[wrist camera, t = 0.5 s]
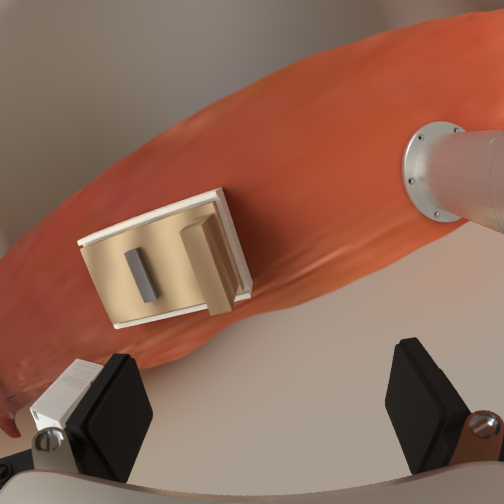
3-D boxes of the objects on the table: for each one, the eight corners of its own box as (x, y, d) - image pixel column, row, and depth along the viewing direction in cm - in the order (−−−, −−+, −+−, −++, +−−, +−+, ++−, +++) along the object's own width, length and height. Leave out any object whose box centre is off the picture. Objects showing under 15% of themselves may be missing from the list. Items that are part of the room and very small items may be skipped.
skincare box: (113, 400, 47) (78, 461, 32) (84, 392, 47) (46, 448, 33) (104, 362, 44) (60, 423, 30) (74, 355, 45) (26, 410, 30)
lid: (215, 200, 33) (199, 212, 26) (244, 287, 35) (237, 320, 28) (86, 245, 35) (51, 265, 28) (117, 318, 38) (90, 349, 30)
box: (221, 187, 36) (215, 190, 32) (252, 282, 39) (250, 297, 35) (94, 232, 38) (77, 241, 34) (128, 313, 41) (115, 329, 37)
